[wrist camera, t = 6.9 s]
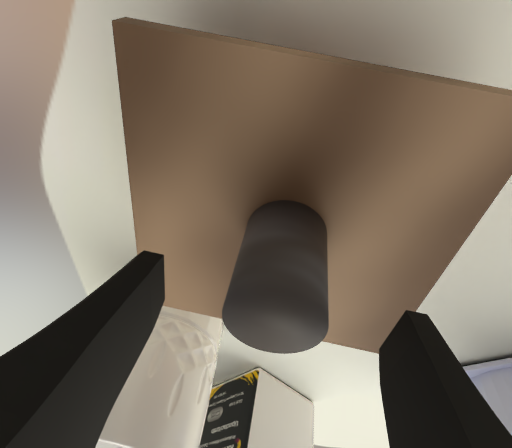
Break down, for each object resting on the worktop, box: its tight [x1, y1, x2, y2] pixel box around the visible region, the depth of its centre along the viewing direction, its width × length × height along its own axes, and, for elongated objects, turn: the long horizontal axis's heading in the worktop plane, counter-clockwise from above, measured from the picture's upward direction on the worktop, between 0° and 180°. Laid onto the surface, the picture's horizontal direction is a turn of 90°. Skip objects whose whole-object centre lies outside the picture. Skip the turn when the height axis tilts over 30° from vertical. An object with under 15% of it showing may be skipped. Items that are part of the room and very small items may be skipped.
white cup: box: [95, 306, 222, 448], centre depth 22 cm, size 8×8×10 cm
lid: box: [112, 17, 512, 354], centre depth 11 cm, size 12×12×5 cm
